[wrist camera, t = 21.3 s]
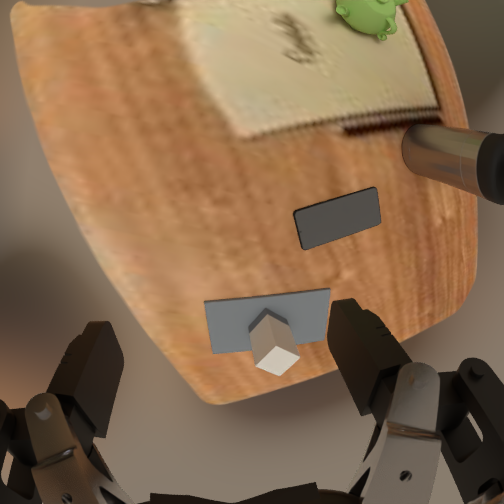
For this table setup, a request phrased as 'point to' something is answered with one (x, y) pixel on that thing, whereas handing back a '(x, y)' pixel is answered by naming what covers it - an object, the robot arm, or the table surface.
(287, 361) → the block
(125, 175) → the table surface
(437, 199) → the table surface
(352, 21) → the teapot
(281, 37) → the table surface
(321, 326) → the desk mat
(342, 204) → the smartphone
